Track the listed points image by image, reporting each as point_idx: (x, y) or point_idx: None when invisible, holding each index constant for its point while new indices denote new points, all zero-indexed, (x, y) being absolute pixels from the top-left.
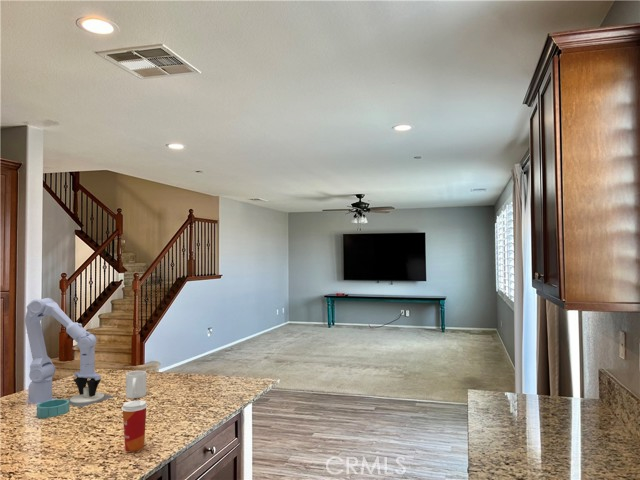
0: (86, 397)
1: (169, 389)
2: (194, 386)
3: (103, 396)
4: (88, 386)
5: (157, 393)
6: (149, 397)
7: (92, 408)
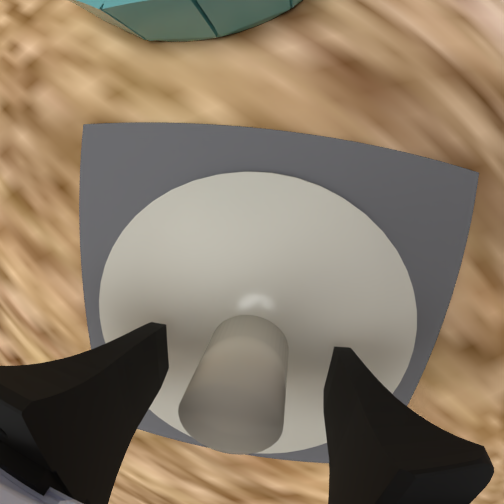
0: (222, 322)
1: None
2: None
3: None
4: (85, 373)
5: None
6: None
7: (26, 174)
